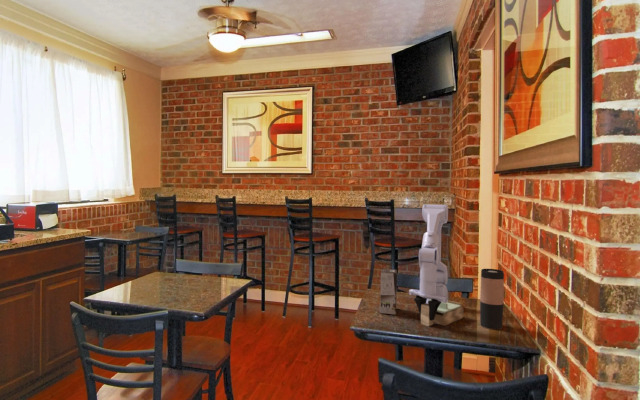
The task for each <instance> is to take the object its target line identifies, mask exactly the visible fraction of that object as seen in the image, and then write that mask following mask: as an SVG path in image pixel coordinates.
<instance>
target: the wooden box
mask: <svg viewBox="0 0 640 400" xmlns="http://www.w3.org/2000/svg"><path fill="white" fill-rule="evenodd" d="M448 303H452V304H457V305H461V307H460V308H457V309H455V310H452V311H449V312H447V313H441V312H437V311H436V314H435V318H434V320H433V324H436V325H437V324H438V325H441V326H443V327H444V326H445V327H446V326H447V325H450V324H453V323H454V322H458V321H460V320H461V319H463V318H464V307H462V303H461V302H457V301H454V300H450V299H448ZM419 319H420V320H421V318H420V317H419Z"/></svg>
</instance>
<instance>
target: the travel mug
mask: <svg viewBox="0 0 640 400" xmlns="http://www.w3.org/2000/svg"><path fill="white" fill-rule="evenodd" d="M504 280H505V272H504V270H502V269H495V268H482V269H481V271H480V291H479V292H480V295H479V297H480V298H479V306H480V307H479V308H480V310H479V312H480V313H479V314H480V315H479V317H480V319H479V321H480V322H479V323H480V326H481V327H483V328H485V329H489V330H501V329H502V328H503V322H504V321H503V320H504V295H505V293H504V292H505V283H504V282H505V281H504Z"/></svg>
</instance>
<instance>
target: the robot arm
mask: <svg viewBox="0 0 640 400" xmlns="http://www.w3.org/2000/svg"><path fill="white" fill-rule="evenodd" d="M421 216H422V220H423V221H424V222H425V223H426V232H424V234H423V237H422V243H421V248H419V251H418V264H419V265H418V266H419V269H420V270H419V289H413V288H411V289H409V290H408V295H409V296H415V297H414V298H413V300H414V302H415V305H416V306H417V310H418V312H419V319H420V318H421V305H422V304H425V303H427V304H428V305H429V319H430V320H431V321H432V320H434V318H435V314H436V311H437V309H438V307H439V305H440V304H441V302H442V303H447V302H448V300H449V299H448V298H449V297H448V288H447V284H448V276H449V275H448V267H447V265H446V264H444V263H443V262H442V229H443V228H442V227H443V225H444V224H447V223H448V221H449V219H448V218H449V206H448V204H445V203H444V204H431V203H429V204H427V203H424V204H422V212H421ZM430 299H431V300H430ZM429 300H430V301H429Z"/></svg>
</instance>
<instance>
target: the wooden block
mask: <svg viewBox="0 0 640 400" xmlns="http://www.w3.org/2000/svg"><path fill="white" fill-rule="evenodd" d="M420 325H423V326H426V327H430V326H433V325H434V323H433V320H432V321H431V320H430V319H429V305H428V304H427V303H425V304H422V305H421V319H420Z"/></svg>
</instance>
